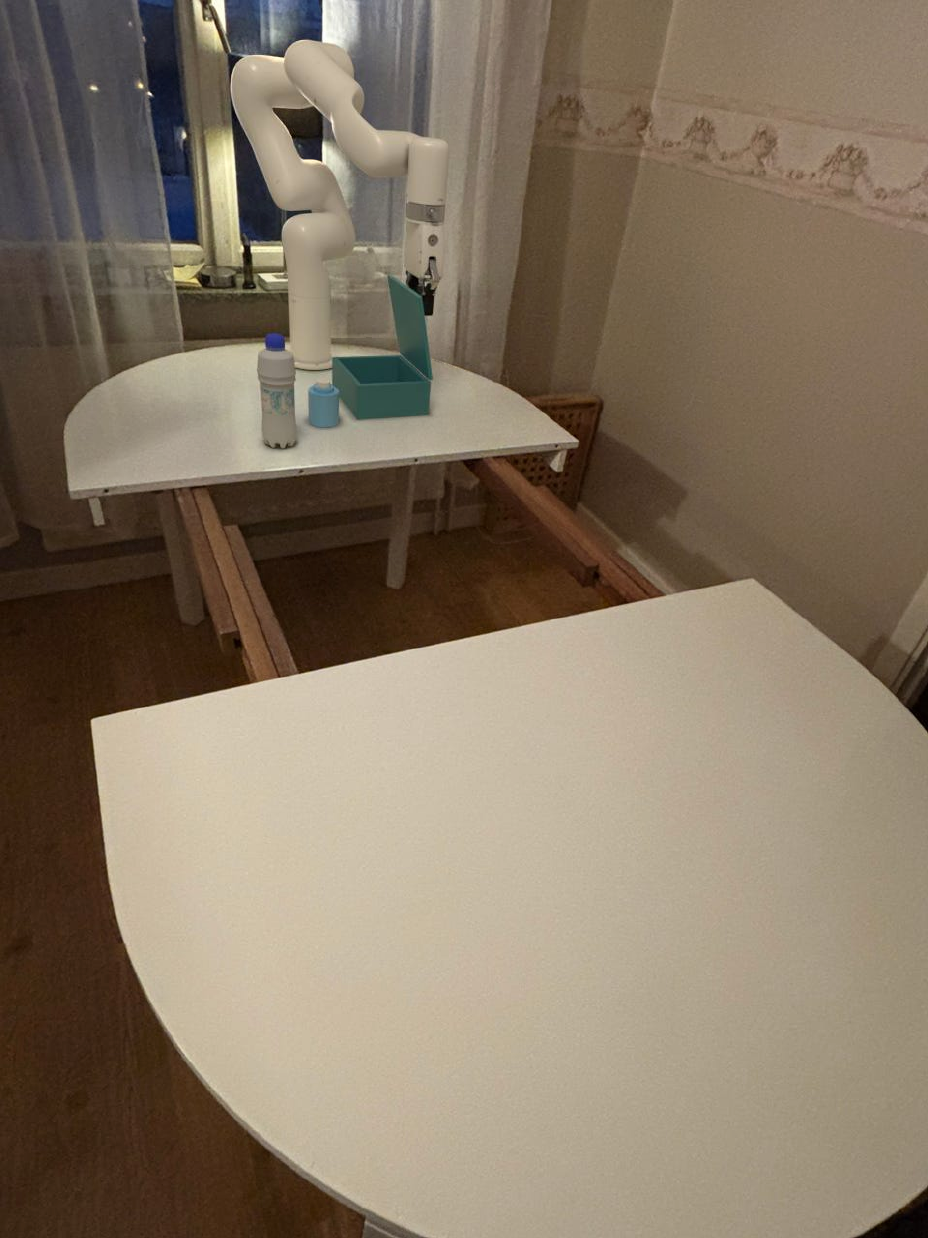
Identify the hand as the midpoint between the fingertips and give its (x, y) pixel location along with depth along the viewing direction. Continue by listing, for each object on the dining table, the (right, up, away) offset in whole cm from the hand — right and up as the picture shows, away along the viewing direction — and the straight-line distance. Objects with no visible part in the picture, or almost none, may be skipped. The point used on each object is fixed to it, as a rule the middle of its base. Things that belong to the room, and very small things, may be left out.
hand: (419, 309), depth 153 cm
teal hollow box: (-9, -17, +8) cm, 21 cm away
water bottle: (-19, -24, -4) cm, 31 cm away
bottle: (-25, -31, -15) cm, 43 cm away
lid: (-2, -3, +1) cm, 4 cm away
